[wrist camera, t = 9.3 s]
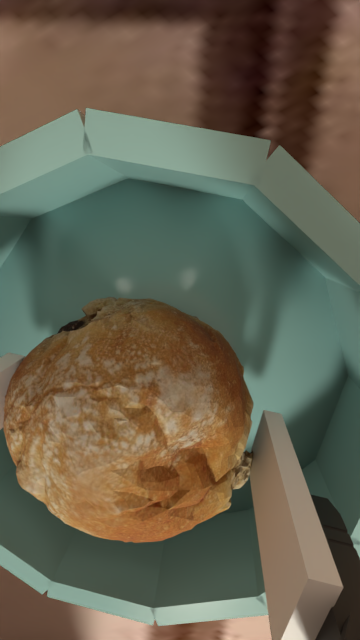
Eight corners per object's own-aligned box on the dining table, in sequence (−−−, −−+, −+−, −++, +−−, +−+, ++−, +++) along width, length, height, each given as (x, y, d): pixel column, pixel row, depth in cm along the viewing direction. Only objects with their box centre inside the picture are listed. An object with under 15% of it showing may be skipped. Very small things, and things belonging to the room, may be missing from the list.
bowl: (291, 560, 19) (315, 669, 14) (-27, 480, 20) (-101, 556, 16) (437, 206, 13) (566, 192, 8) (-35, 120, 14) (-164, 63, 9)
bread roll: (192, 270, 17) (104, 208, 9) (310, 445, 14) (324, 563, 6) (66, 367, 19) (-82, 381, 12) (145, 532, 16) (17, 688, 9)
